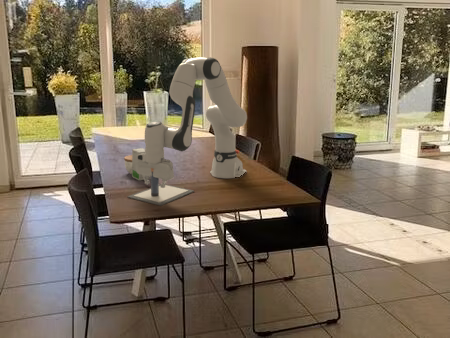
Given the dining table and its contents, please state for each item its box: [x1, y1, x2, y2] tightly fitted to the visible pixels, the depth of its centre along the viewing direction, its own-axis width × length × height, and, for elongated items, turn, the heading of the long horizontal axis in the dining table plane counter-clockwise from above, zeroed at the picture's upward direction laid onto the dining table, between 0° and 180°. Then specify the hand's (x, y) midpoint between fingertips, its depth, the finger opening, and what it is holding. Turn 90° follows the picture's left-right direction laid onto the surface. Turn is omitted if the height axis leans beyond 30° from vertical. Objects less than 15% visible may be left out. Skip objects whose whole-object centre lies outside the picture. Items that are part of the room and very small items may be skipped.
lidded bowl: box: [123, 154, 132, 175], centre depth 260 cm, size 13×13×11 cm
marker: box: [150, 168, 160, 197], centre depth 219 cm, size 4×4×14 cm
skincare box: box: [131, 147, 150, 181], centre depth 250 cm, size 8×7×16 cm
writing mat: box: [127, 183, 195, 207], centre depth 225 cm, size 26×20×1 cm
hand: (154, 185), depth 219 cm, fingers open, 8 cm apart
